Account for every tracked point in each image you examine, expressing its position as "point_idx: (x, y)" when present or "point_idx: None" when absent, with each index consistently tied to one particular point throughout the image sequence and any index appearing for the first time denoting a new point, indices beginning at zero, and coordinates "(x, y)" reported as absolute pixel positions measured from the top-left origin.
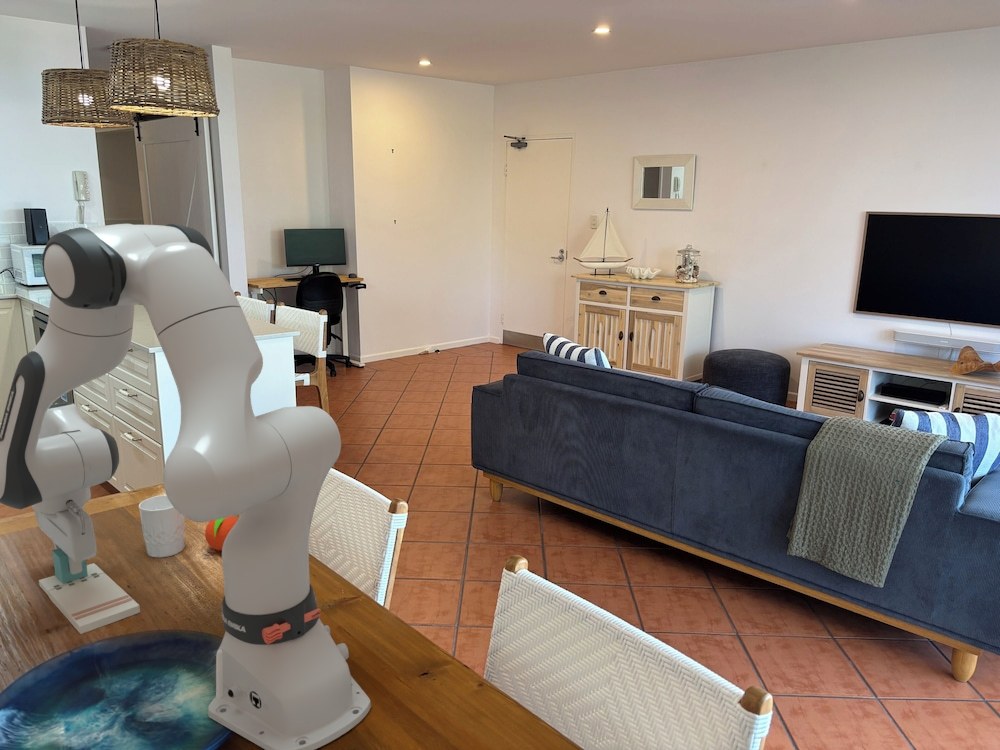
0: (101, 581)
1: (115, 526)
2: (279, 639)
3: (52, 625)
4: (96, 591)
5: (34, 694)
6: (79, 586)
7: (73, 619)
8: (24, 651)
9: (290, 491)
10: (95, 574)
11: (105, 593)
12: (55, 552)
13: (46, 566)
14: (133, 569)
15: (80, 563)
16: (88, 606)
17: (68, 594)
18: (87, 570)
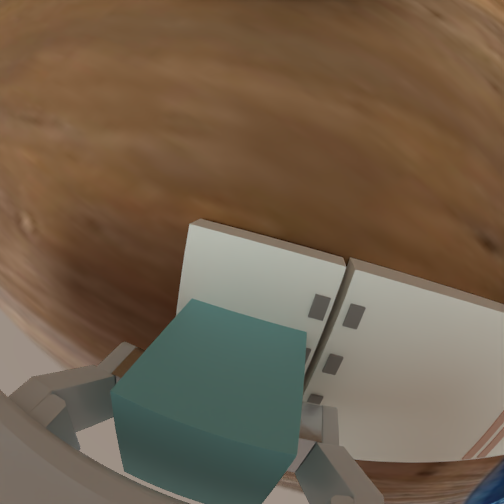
0: (417, 331)
1: (10, 29)
2: None
3: (418, 466)
4: (453, 381)
5: (500, 492)
6: (358, 396)
7: (478, 458)
8: (428, 498)
9: None
10: (328, 305)
11: (490, 368)
12: (164, 487)
13: (55, 291)
14: (375, 112)
15: (337, 444)
16: (481, 425)
17: (370, 435)
18: (243, 294)
